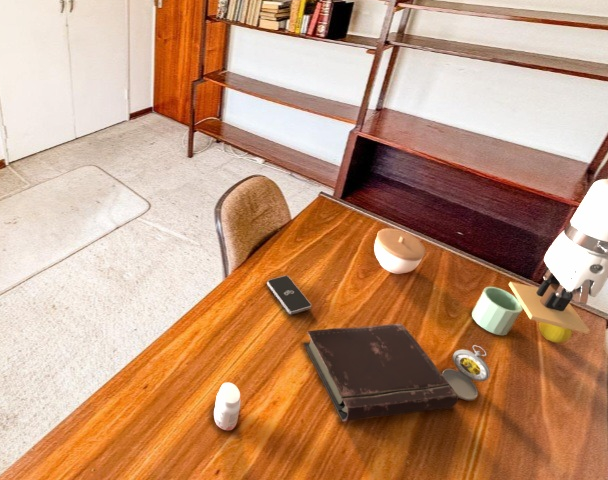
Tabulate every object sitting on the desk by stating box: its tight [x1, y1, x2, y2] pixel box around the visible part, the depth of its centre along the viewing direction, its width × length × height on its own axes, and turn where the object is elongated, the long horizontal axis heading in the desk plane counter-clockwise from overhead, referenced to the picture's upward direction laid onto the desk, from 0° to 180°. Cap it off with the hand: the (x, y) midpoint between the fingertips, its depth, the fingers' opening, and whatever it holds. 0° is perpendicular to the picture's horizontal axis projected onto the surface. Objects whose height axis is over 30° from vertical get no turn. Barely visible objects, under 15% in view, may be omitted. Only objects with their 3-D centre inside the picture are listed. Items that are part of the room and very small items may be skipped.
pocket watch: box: [441, 344, 491, 401], centre depth 87 cm, size 8×8×10 cm
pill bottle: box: [213, 382, 242, 431], centre depth 79 cm, size 5×5×8 cm
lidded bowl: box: [373, 227, 426, 275], centre depth 119 cm, size 13×13×11 cm
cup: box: [471, 286, 524, 336], centre depth 102 cm, size 8×8×8 cm
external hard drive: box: [266, 275, 312, 317], centre depth 108 cm, size 7×11×2 cm, turn 19°
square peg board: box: [508, 281, 591, 335], centre depth 86 cm, size 10×10×6 cm
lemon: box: [538, 322, 573, 344], centre depth 98 cm, size 6×6×8 cm
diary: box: [302, 323, 459, 422], centre depth 89 cm, size 19×25×5 cm
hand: (549, 301), depth 87 cm, fingers closed on square peg board, 2 cm apart
